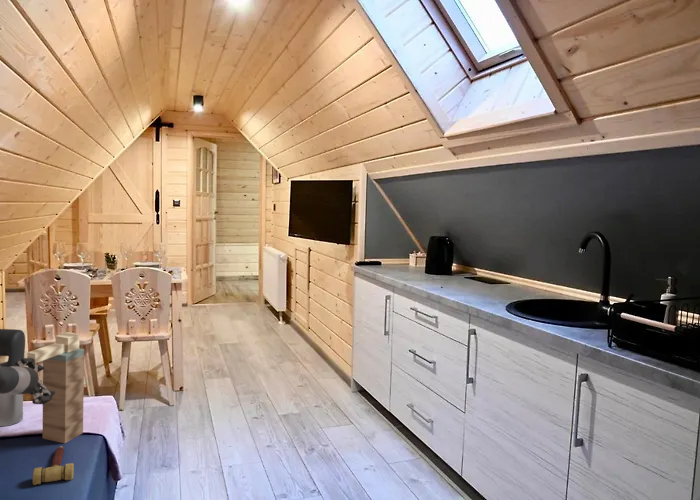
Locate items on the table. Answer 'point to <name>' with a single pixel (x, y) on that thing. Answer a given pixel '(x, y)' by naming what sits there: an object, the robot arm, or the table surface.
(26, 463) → the table surface
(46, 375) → the teal-capped wooden post
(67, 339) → the maple key
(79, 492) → the table surface
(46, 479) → the gavel
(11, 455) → the table surface
